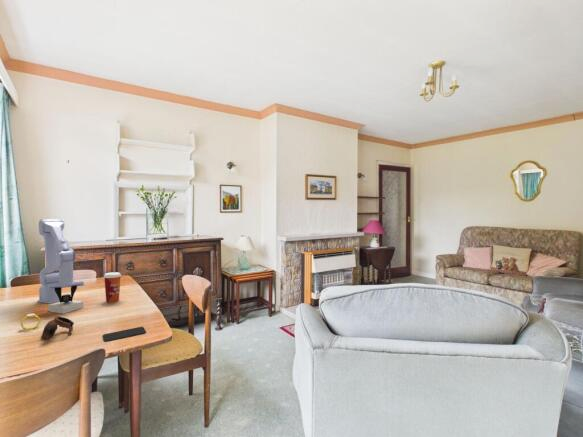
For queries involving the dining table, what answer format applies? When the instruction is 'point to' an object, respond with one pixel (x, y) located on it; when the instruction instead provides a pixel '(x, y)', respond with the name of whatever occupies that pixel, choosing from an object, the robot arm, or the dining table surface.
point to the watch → (30, 316)
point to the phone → (123, 334)
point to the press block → (65, 306)
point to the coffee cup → (112, 286)
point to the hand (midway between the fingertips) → (66, 301)
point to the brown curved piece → (52, 326)
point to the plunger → (66, 298)
